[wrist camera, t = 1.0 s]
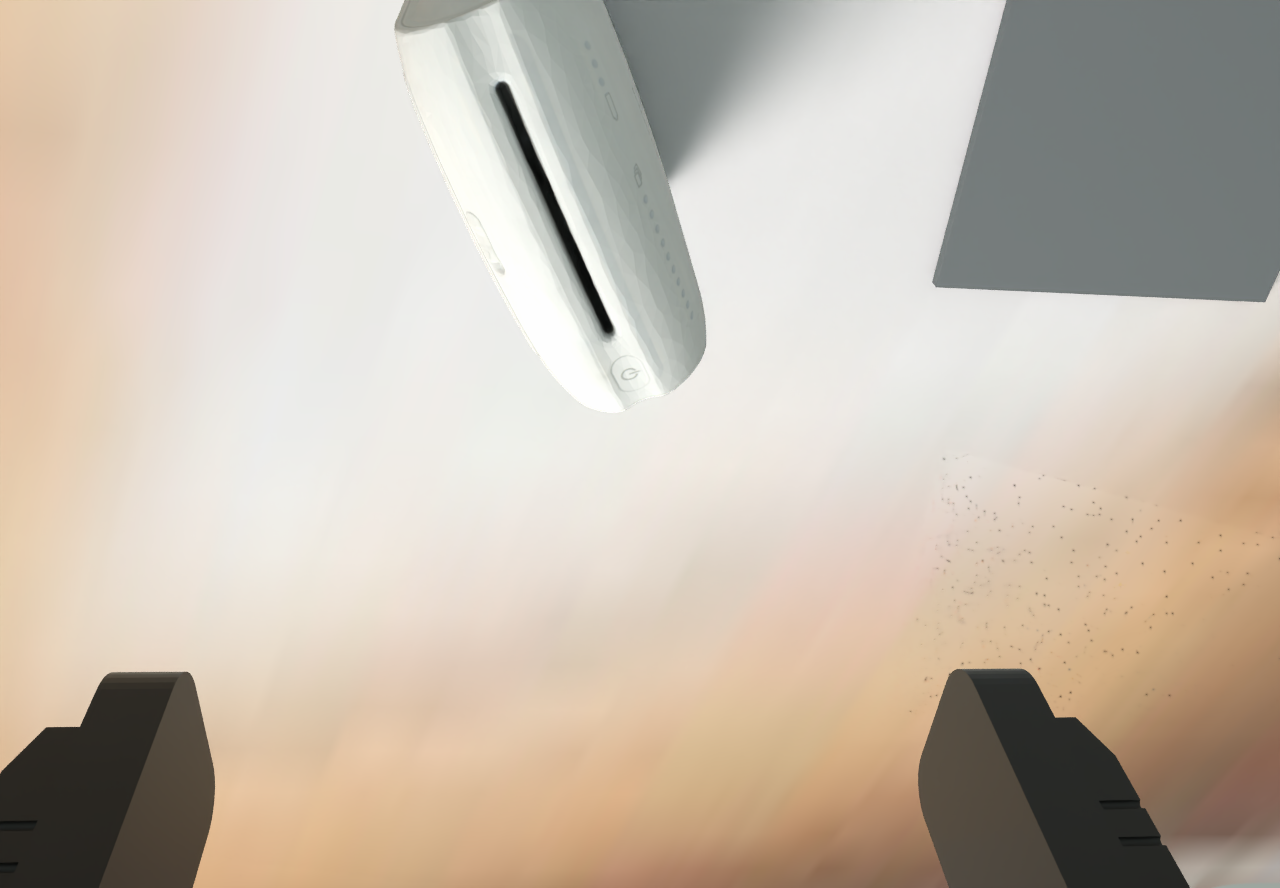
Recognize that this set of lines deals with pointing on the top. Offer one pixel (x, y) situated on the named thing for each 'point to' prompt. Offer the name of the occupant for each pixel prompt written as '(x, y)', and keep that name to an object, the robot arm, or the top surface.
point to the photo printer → (559, 188)
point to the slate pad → (1124, 153)
